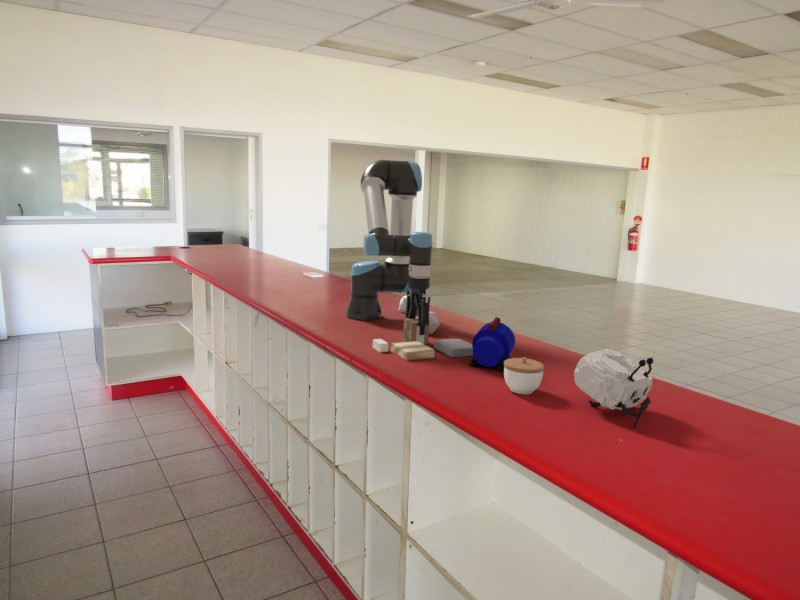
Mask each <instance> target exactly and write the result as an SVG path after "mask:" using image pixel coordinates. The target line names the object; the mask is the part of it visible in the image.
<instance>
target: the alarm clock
mask: <svg viewBox="0 0 800 600" xmlns="http://www.w3.org/2000/svg"><path fill="white" fill-rule="evenodd" d="M501 321H502V319H501V318H500V317H497V316H496V317H495V318H494V319H493V320H492V321H490V322H488V323H485V324H484V325H483V326H481V328H480V329H479V330H478V331H477V332H476V333H475V335H474V337H473V338H472V343H471V344H472V347H473V355H472V356H473V358H472V359H471V361H470V363H468V365H467V366H474V365H477V364H479V365H481V366H483V367H489V368H491V367H494V366H495V367H497V369H500V370H501V371H503V372H504V361H505V360H507V359H511V358H512V357H511V355H510V354H511V353H512V352H513V350H514V348H515V346H516V337H515V334H514V332H513V330H512V329H511V328H510V327H509V326H508V325H506V324H504V323H502V322H501Z"/></svg>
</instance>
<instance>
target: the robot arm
mask: <svg viewBox="0 0 800 600" xmlns="http://www.w3.org/2000/svg"><path fill="white" fill-rule="evenodd" d="M422 187H423V175H422V170H421V167H420V165H419V163H417V162H416V161H409V160H393V159H391V160H390V159H378V160H375V161H373V162H371V163H370V164H369V165H368V166H367V167H366V168H365V169H364V171H363V172H362V175H361V178H360V190H361V192H362V194H363V195H364V196H363V197H364V204H365V205H364V206H365V214H366V215H365V216H366V223H367V233H366V234H365V235H364V237H363V253H364V254H365V255H367V256H374V257H379V256H382V257H383V256H384V257H386V259H384V264H381V262H380V261H379V260H364V261H363V260H362V261H359V262H355V263H353V264H352V265H351V271H350V276H351V280H350V281H351V282H350V298H349V301H348V303H347V307H346V310H345V316H346V317H347V318H350V319H352V320H361V321H369V320H371V321H373V320H378V319H381V318H382V316H383V315H382V313H383V312H382V311H383V310H382V308H381V304H380V302H379V301H380V300H379V293H399V294H401V293H406V295H407V302H406V312H405V314H404V315H405V316H404V317H405V319H414V318H417V317H418V324H417V336H416V341H419V342H420V343H422V344H424V334H425V326H426V325H429V312H430V304H431V303H430V302H431V296H427V292H426V291H427V290H428V289H429V288H430V282H431V280H430V277H431V267H432V266H431V263H432V250H433V249H432V247H433V235H432V233H431V232H426V231H412V219H413V218H412V216H413V201H414V199H415V198H416V197H417V196H418V193H419V192H421V191H422ZM385 190H387V191H388V193H387V194H388V195H389V197H390V198H391V207H390V210H391V211H390V223H389V224H388V215H387V208H386V201H385V200H386V199H385V193H384V191H385ZM389 225H390V226H389ZM389 227H390V228H389ZM424 345H425V344H424Z"/></svg>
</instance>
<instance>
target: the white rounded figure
mask: <svg viewBox="0 0 800 600" xmlns="http://www.w3.org/2000/svg"><path fill="white" fill-rule="evenodd" d="M406 302H407V294H406V295H404V296H403V297H401V299H400V301H399V307H398V309H397V310H398V311H400V312H404V313H406Z"/></svg>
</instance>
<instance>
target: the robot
mask: <svg viewBox="0 0 800 600" xmlns="http://www.w3.org/2000/svg"><path fill="white" fill-rule="evenodd" d="M653 363H654V358H653V357H648V358H646V359H641V360H639V361H638V365H637V364H636V363H634V360H633V359H631V358H627V357H626V356H624V354H623V353H622V352H621V351H618V350H614V349H611V348H609V349H608V348H604V349H600V350H597V351H593V352H592V351H591V352H589V353H587V354H586V355H585V356H582V357H581V358H580V359H579V361H578V362H577V364H576V366H575V369H574V371H573V375H574V376H573V377H574V379H573V381H574V382H575V385H576V387H578V388H579V390H581V391H582V392H583V393H584V394H586V395H587V396H589V397H590V398H591V399H593V400H594V401H592V400H589V401H588V403H589V404H590V407H591V408H593V409H598V408H599V407H601V406H602V407H603V408H607V409H610V410H616V409H617V410H619V411H622V412H624V413H625V414H626V415H628V416H629V417H633V418H635V421H634V423H633V424H632V427H633V428H634V429H635V428H636V427H637V424H638V422H639V421H640V418H641V416H642V414H643V412H644V410H647V409H648V408H649V405H650V404H651V403H652V400H651V399H650V397H649V396H648V393H649V392H650V391H651V388H652V386H653V378H652V376H650V375H649V374H650V373H651V371H652V365H653ZM646 365H647V366H648V370H647V371H644V370H643V369H641V368H642V367H645V366H646ZM639 404H640V407H639V408H638V411H639V412H636V411H632V410H631V408H634V407H636V406H638V405H639Z"/></svg>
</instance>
